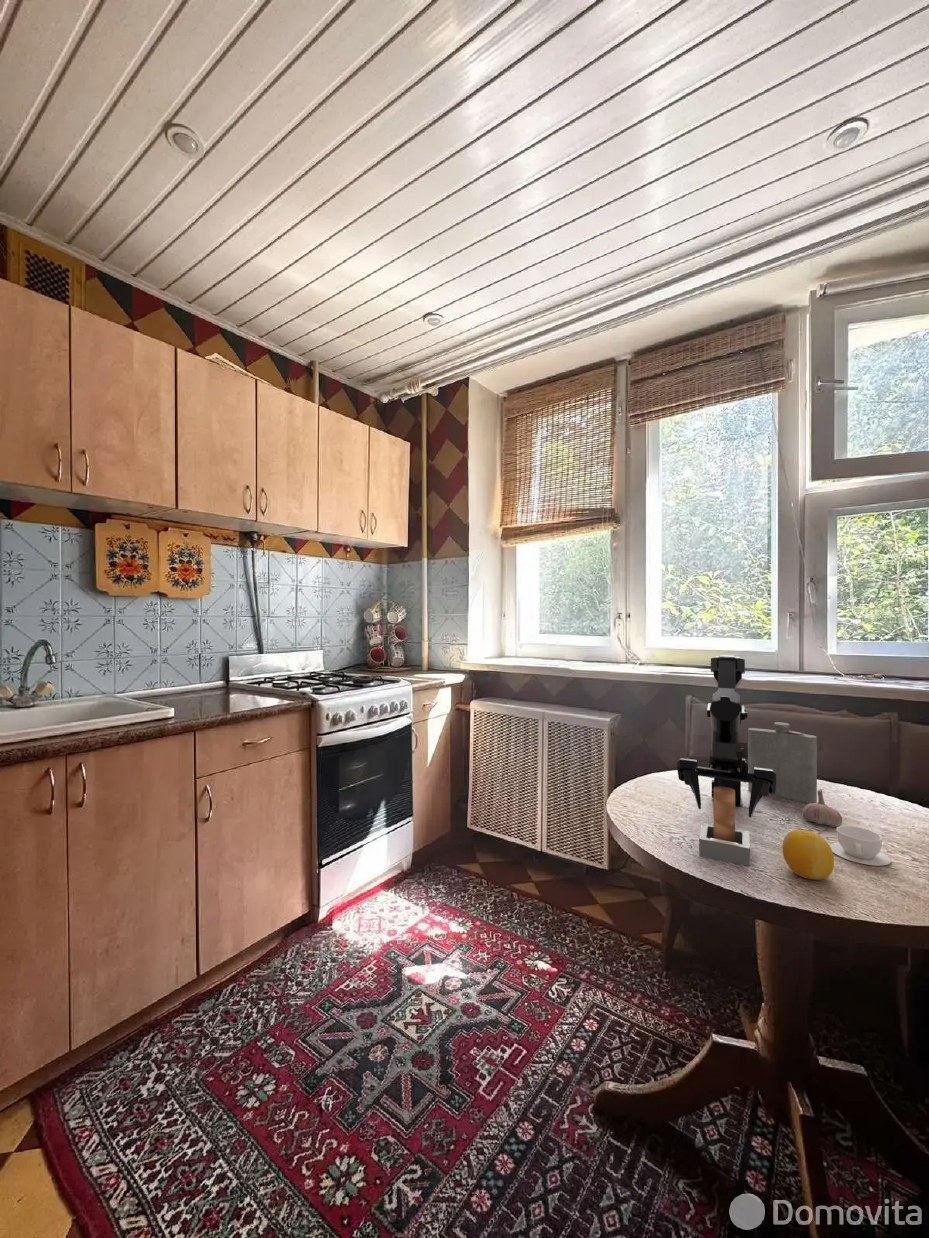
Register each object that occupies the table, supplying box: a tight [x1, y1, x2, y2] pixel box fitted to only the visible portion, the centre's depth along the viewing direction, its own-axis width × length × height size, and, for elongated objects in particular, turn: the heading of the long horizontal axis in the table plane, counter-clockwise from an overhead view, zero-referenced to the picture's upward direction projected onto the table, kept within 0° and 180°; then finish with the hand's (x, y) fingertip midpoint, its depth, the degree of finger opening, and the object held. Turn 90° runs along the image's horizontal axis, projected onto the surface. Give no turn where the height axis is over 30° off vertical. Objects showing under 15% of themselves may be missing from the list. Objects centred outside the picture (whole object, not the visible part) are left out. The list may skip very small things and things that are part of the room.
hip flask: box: [747, 721, 818, 804], centre depth 136 cm, size 16×4×20 cm, turn 50°
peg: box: [713, 786, 736, 842], centre depth 103 cm, size 4×4×13 cm
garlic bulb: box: [802, 788, 843, 828], centre depth 118 cm, size 8×7×8 cm
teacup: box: [829, 825, 892, 867], centre depth 102 cm, size 10×10×5 cm
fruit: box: [782, 829, 835, 881], centre depth 94 cm, size 9×8×8 cm
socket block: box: [698, 822, 751, 867], centre depth 103 cm, size 9×9×4 cm
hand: (724, 812), depth 102 cm, fingers open, 9 cm apart
